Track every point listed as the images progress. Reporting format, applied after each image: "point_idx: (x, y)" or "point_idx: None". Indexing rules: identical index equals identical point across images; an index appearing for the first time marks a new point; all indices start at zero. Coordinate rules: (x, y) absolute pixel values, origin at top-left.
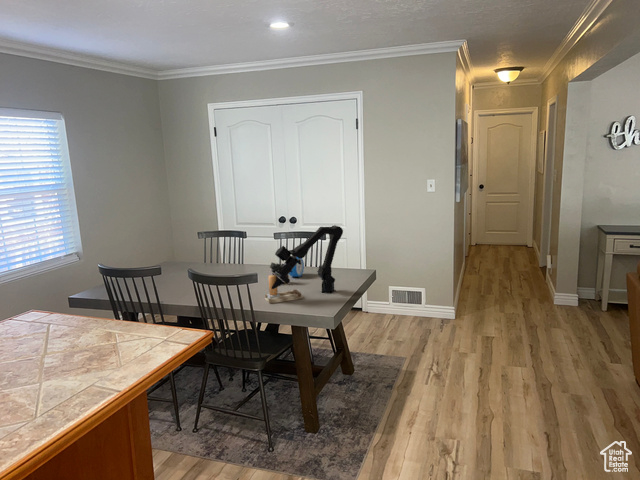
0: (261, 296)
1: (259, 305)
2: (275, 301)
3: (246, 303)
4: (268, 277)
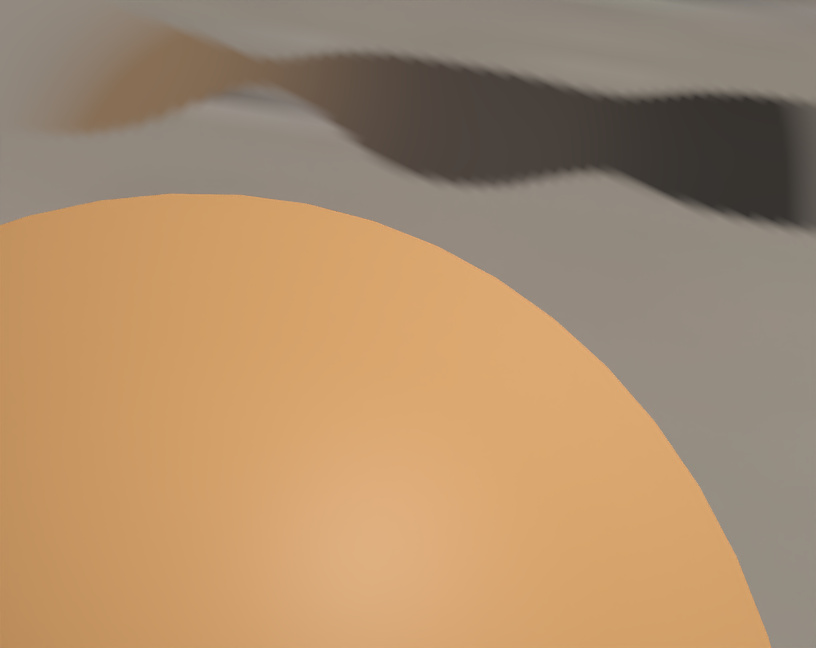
0: (745, 349)
1: None
2: None
3: (386, 19)
4: (295, 249)
